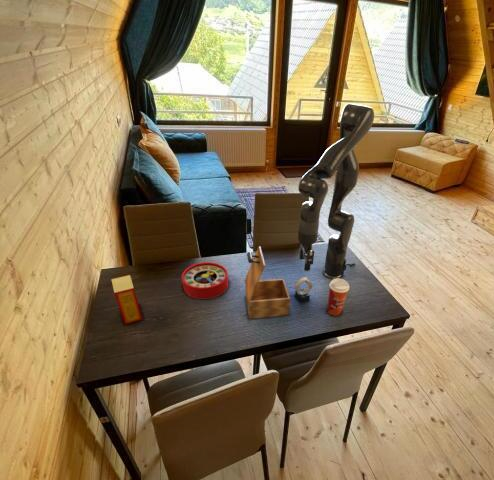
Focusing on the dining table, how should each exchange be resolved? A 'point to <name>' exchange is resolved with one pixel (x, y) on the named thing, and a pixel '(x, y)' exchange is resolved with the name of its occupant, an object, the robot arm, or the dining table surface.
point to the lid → (254, 271)
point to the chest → (269, 299)
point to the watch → (303, 290)
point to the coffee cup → (337, 296)
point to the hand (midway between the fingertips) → (304, 264)
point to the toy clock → (205, 280)
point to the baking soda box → (126, 299)
